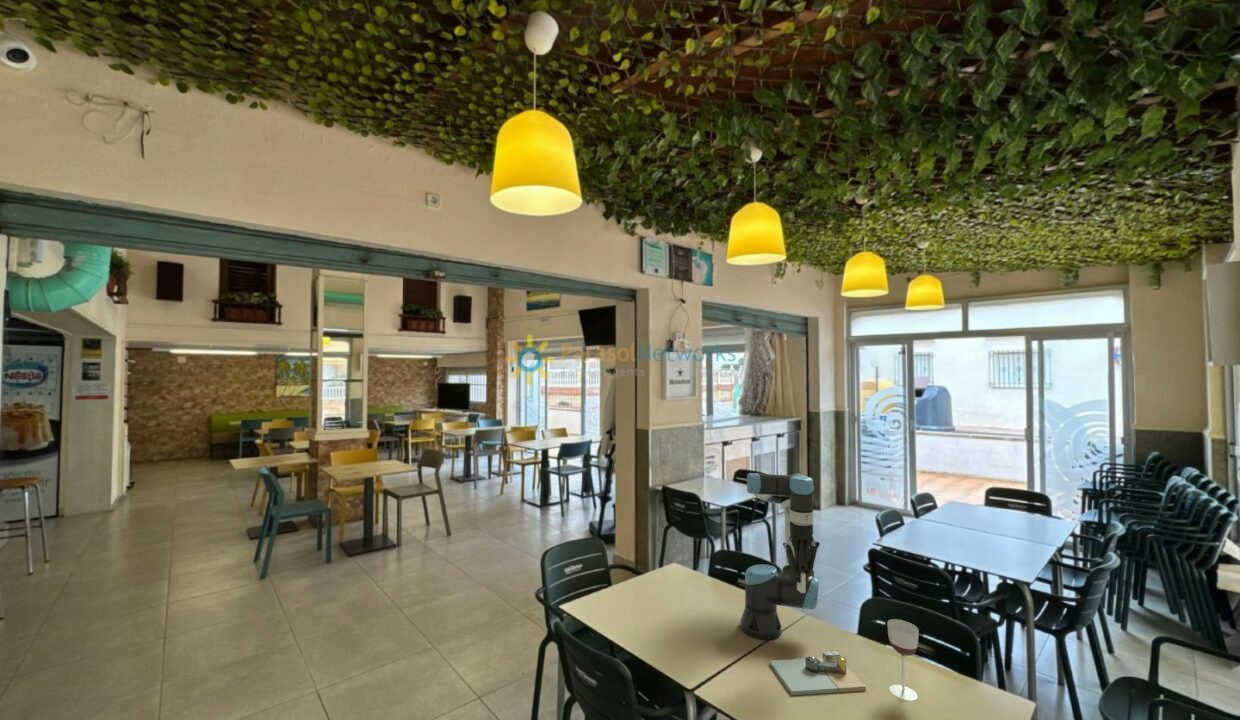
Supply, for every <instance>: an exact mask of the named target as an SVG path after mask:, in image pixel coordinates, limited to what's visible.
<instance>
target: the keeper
mask: <svg viewBox="0 0 1240 720" xmlns="http://www.w3.org/2000/svg"><path fill="white" fill-rule="evenodd" d="M838 656H841V654H840V653H839V652H838V651H837V650H836V651H823V652H822V658H823V662H829V663H837V657H838Z"/></svg>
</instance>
